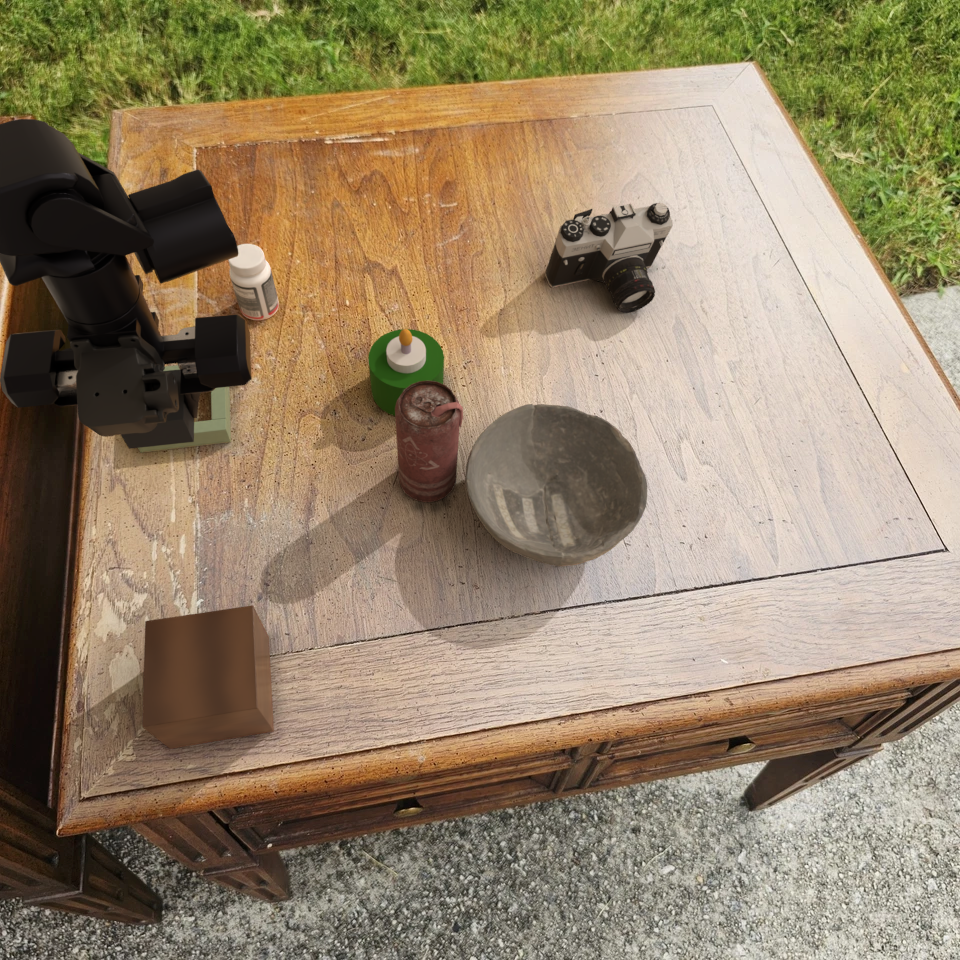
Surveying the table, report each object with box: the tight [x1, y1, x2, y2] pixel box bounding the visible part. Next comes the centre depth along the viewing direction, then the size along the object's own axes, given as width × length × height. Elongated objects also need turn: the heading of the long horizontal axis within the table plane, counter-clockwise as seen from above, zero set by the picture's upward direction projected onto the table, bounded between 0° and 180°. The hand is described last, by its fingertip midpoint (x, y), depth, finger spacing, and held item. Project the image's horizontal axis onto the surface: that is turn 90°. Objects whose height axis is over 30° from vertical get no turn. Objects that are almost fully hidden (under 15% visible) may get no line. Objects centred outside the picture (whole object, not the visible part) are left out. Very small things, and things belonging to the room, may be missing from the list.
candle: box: [367, 328, 445, 417], centre depth 87 cm, size 8×8×10 cm
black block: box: [120, 370, 195, 450], centre depth 70 cm, size 6×6×4 cm
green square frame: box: [137, 364, 232, 454], centre depth 87 cm, size 10×10×2 cm
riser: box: [141, 604, 275, 750], centre depth 69 cm, size 9×9×8 cm
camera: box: [544, 202, 673, 314], centre depth 97 cm, size 15×11×10 cm
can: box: [394, 380, 464, 503], centre depth 79 cm, size 6×6×14 cm
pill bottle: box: [227, 243, 280, 321], centre depth 93 cm, size 5×5×8 cm
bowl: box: [464, 403, 648, 568], centre depth 80 cm, size 18×18×8 cm
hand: (161, 417), depth 72 cm, fingers closed on black block, 5 cm apart
